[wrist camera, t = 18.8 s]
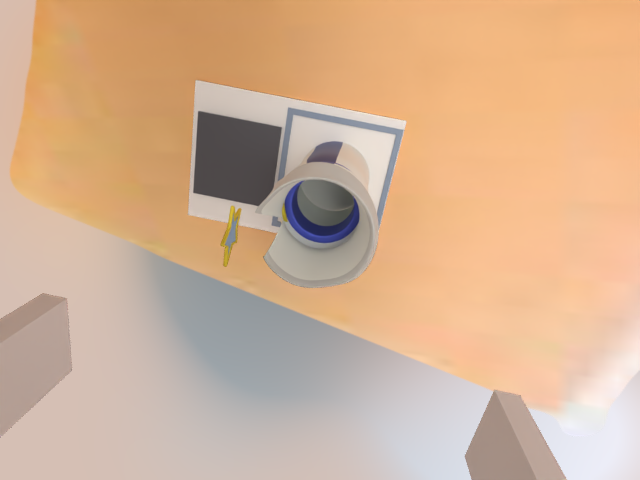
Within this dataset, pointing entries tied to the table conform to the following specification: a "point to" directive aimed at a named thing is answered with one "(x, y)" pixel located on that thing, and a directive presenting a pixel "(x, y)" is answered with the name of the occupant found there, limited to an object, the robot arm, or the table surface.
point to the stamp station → (277, 151)
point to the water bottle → (318, 221)
